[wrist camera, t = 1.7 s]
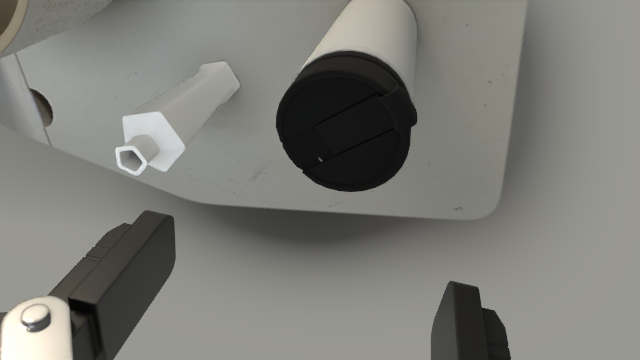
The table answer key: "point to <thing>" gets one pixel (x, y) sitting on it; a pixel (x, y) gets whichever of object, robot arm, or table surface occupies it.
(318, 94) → the travel mug
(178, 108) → the perfume bottle
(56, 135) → the table surface
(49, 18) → the planter
